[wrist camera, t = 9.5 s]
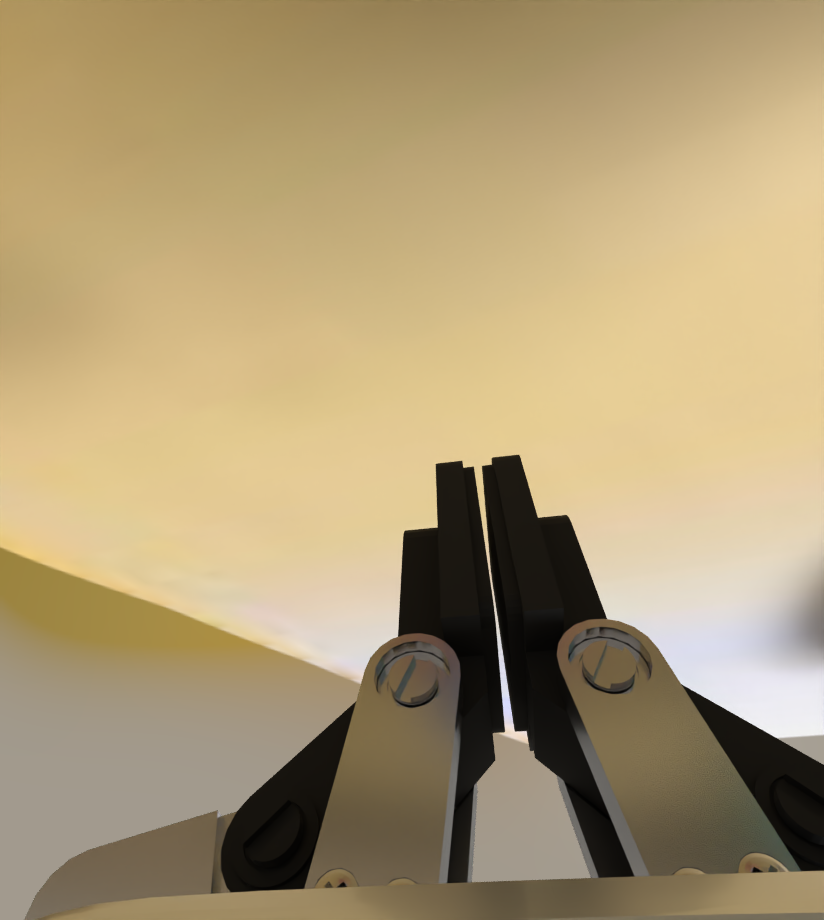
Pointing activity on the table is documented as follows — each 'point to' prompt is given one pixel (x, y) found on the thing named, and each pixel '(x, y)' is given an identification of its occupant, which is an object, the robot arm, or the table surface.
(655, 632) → the table surface
